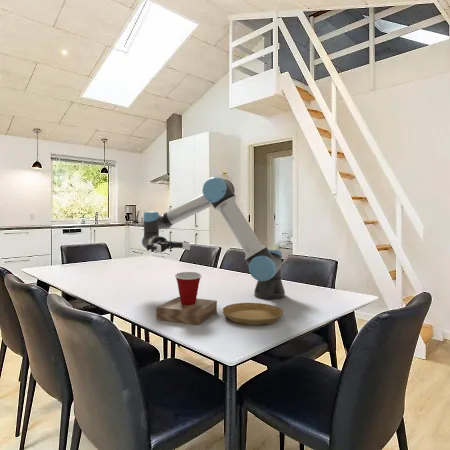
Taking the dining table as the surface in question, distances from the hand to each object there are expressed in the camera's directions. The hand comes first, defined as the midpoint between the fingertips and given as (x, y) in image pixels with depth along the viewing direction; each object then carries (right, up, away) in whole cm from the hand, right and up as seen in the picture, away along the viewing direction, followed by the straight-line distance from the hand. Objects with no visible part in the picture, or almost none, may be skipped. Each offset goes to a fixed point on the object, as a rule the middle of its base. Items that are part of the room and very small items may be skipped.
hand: (175, 247), depth 160 cm
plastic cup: (+7, -22, -12) cm, 26 cm away
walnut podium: (+7, -27, -12) cm, 30 cm away
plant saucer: (+33, -27, -14) cm, 45 cm away
